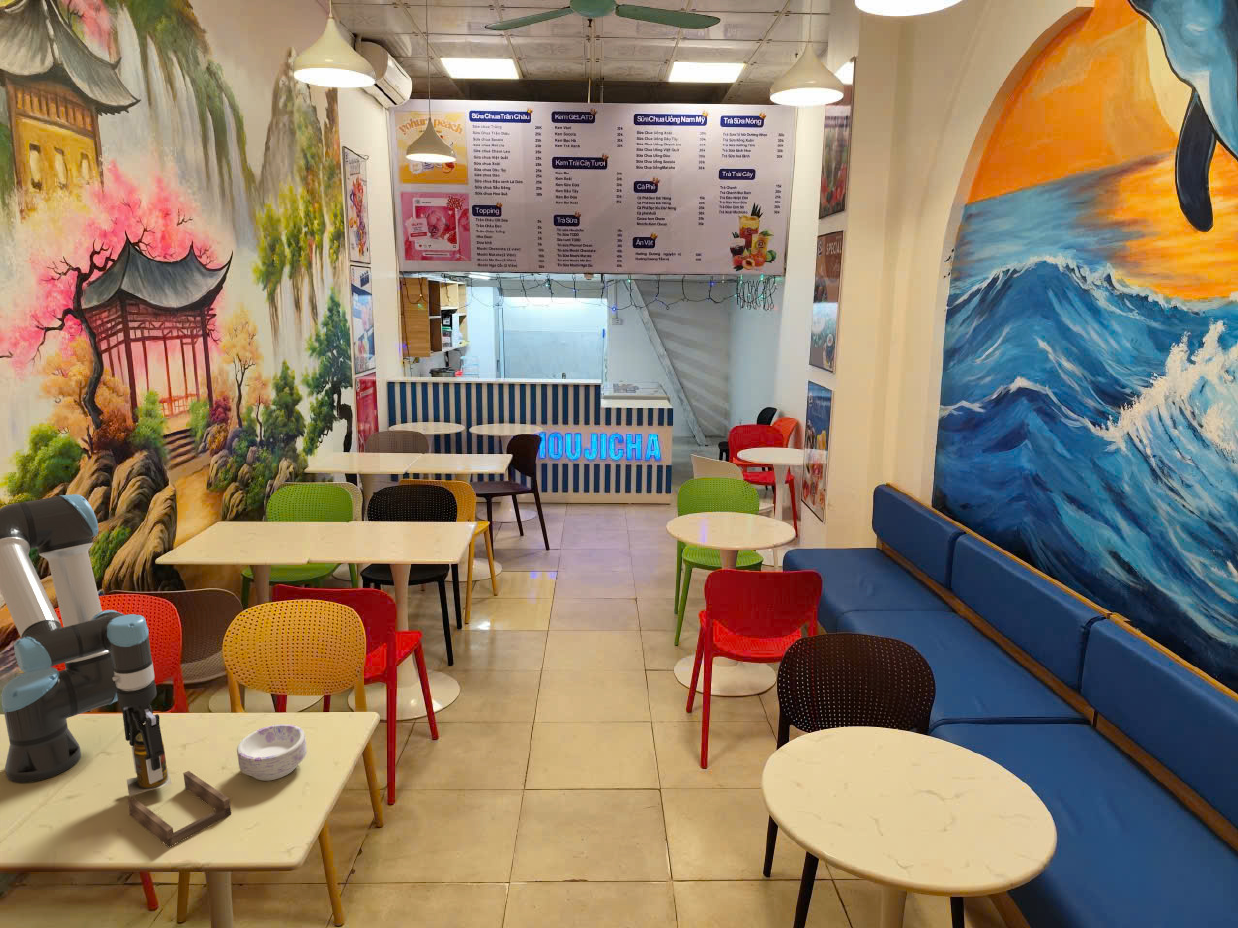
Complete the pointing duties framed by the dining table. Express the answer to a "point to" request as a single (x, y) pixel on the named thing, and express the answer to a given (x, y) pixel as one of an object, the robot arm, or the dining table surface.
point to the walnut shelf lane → (170, 838)
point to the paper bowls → (272, 751)
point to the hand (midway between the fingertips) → (149, 775)
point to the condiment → (145, 771)
